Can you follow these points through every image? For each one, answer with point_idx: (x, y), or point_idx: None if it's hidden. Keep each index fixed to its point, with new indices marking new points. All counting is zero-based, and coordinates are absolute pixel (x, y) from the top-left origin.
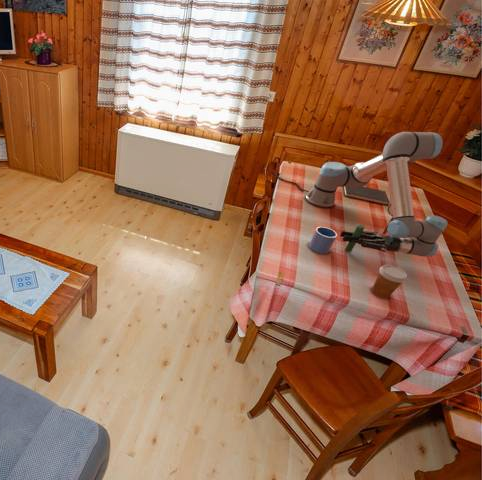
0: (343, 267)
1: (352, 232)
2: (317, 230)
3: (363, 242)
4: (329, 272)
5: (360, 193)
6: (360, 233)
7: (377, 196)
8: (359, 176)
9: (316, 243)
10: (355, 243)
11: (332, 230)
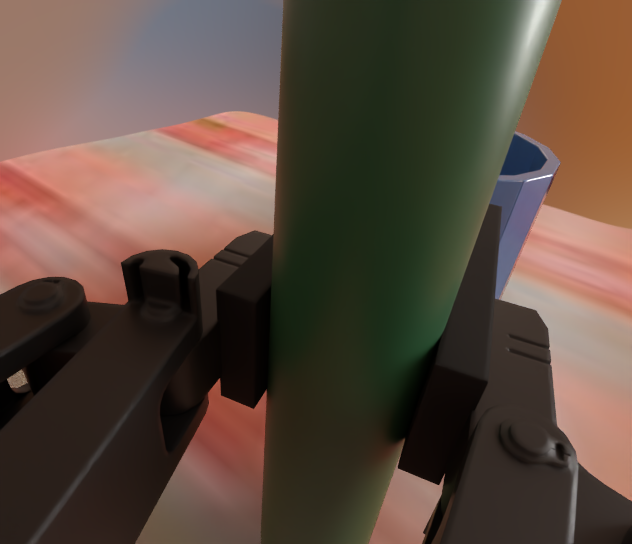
0: None
1: (492, 304)
2: (505, 168)
3: (59, 284)
4: (117, 223)
5: None
6: (276, 171)
7: None
8: None
9: None
10: (267, 438)
11: (500, 176)
